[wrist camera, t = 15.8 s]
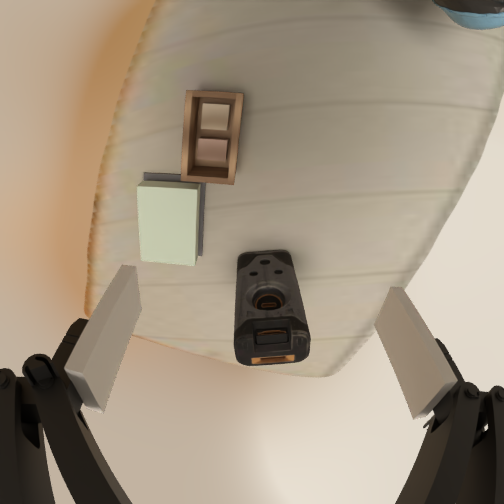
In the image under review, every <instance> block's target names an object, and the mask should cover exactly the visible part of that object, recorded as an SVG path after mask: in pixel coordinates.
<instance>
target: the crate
mask: <svg viewBox="0 0 504 504" xmlns="http://www.w3.org/2000/svg"><path fill="white" fill-rule="evenodd" d="M243 98H244V94H243V93H231V92H216V91H191V90H186V100H185V112H184V126H183V142H182V161H181V181H189V182H204V183H217V184H229V185H234V180H235V173H236V164H237V154H238V144H239V135H240V125H241V116H242V107H243Z"/></svg>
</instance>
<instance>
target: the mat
mask: <svg viewBox="0 0 504 504" xmlns="http://www.w3.org/2000/svg"><path fill="white" fill-rule="evenodd" d="M144 181H164V182H182V183H197V184H201V185H200V205H199V231H198V256H202V247H203V221H204V200H205V183H204V182H189V181H181V174H164V173H144Z"/></svg>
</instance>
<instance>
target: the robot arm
mask: <svg viewBox="0 0 504 504" xmlns="http://www.w3.org/2000/svg"><path fill="white" fill-rule="evenodd" d="M432 1H433V2H434V3H435V4H436V5H437V6H438V7H439V8H441V9H442V10H443V11H444V12H445V13H446V14H447V15H448V16H449V17H450V18H451V19H452V20H453V21H454V22H455V23H457V24H458V25H460V26H462V27H465V28H469V29H475V30H484V29H493V28H498V27H501V26H504V0H432ZM141 310H142V307H141V300H140V293H139V286H138V278H137V269H136V266H128V265H122V266H121V267H120V269H119V271H118V272H117V274H116V275H115V277H114V279H113V280H112V282H111V283H110V285H109V287H108V288H107V290H106V292H105V293H104V295H103V297H102V298H101V300H100V302H99V304H98V305H97V307H96V309H95V311H94V312H93V314H92V316H91V318H90V319H89V320H87V319H82V318H79V319H78V320H77V321H76V322H74V323H73V324H72V325H71V326H70V328H69V329H68V331H67V333H66V336H64V338H63V340H62V342H61V344H60V345H59V347H58V349H57V351H56V353H55V355H54V356H53V358H52V360H51V359H50V357H48V356H47V355H45V354H34V355H32V356H30V357H29V358H28V359H27V360H26V361H25V362H24V365H23V367H22V373H23V374H24V376H25V377H16V376H15V374H14V373H13V371H12V370H10V369H6V368H3V369H0V504H55V500H54V496H53V492H52V487H51V482H50V477H49V471H48V465H47V459H46V451H45V444H44V434H43V428H44V431H45V434H46V437H47V440H48V443H49V445H50V448H51V450H52V453H53V456H54V458H55V460H56V463H57V465H58V468H59V470H60V472H61V475H62V477H63V478H64V481H65V483H66V485H67V487H68V489H69V491H70V493H71V495H72V497H73V499H74V501H75V503H76V504H132V502H131V501H130V500H129V498H128V497H127V495H126V493H125V492H124V490H123V489H122V487H121V486H120V484H119V483H118V481H117V479H116V478H115V476H114V474H113V472H112V471H111V469H110V467H109V466H108V464H107V462H106V460H105V458H104V457H103V455H102V453H101V452H100V449H99V447H98V445H97V443H96V441H95V439H94V437H93V435H92V433H91V431H90V429H89V427H88V425H87V423H86V420H85V418H84V416H83V414H82V412H81V410H80V408H81V405H82V403H84V404H85V406H86V408H87V409H89V410H93V411H96V412H100V413H104V411H105V408H106V405H107V401H108V398H109V395H110V392H111V389H112V386H113V384H114V381H115V378H116V375H117V372H118V370H119V367H120V364H121V361H122V359H123V356H124V353H125V350H126V348H127V345H128V343H129V340H130V338H131V335H132V333H133V330H134V327H135V325H136V322H137V320H138V318H139V315H140V313H141ZM374 326H375V328H376V330H377V332H378V334H379V337H380V339H381V341H382V344H383V346H384V348H385V350H386V353H387V355H388V357H389V360H390V362H391V364H392V367H393V369H394V371H395V374H396V376H397V379H398V381H399V384H400V386H401V389H402V391H403V394H404V396H405V399H406V401H407V404H408V407H409V409H410V412H411V415H412V417H413V419H418V418H422V417H426V416H427V415H428V414H429V413H430V412H431V411H432V410H433V411H434V414H435V415H434V416H433V417H432V418H431V419H430V420H429V421H428V422H427V423H426V424H425V425H424V426H423V428H425V427H426V426H427V425H428V424H429V427H428V429H427V432H426V435H425V438H424V441H423V443H422V446H421V449H420V451H419V454H418V456H417V459H416V461H415V463H414V466H413V468H412V470H411V472H410V475H409V477H408V479H407V481H406V483H405V485H404V487H403V489H402V491H401V493H400V495H399V497H398V499H397V501H396V503H395V504H504V388H503V387H501V386H494V387H493V388H492V389H491V390H490V391H489V392H482V391H479V389H478V388H477V386H476V385H474V384H473V383H470V382H465V381H464V379H463V377H462V375H461V373H460V372H459V370H458V368H457V366H456V364H455V363H454V361H452V357H451V356H450V355H449V352H448V350H447V349H446V347H445V345H444V344H443V343H442V342H441V341H440V340H439V339H437V338H436V339H434V337H433V335H432V334H431V332H430V330H429V329H428V327H427V325H426V324H425V322H424V320H423V319H422V317H421V316H420V314H419V313H418V311H417V309H416V308H415V306H414V305H413V303H412V302H411V300H410V299H409V297H408V296H407V294H406V292H405V291H404V289H403V288H402V287H390V290H389V292H388V295H387V297H386V299H385V302H384V304H383V306H382V308H381V311H380V313H379V315H378V317H377V320H376V322H375V324H374ZM487 424H488V429H487V430H486V431H485V429H484V427H485V426H486V425H487Z"/></svg>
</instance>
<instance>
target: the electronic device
mask: <svg viewBox="0 0 504 504" xmlns="http://www.w3.org/2000/svg"><path fill="white" fill-rule="evenodd" d="M310 341H311V338H310V333H309V329H308V324H307V320H306V316H305V310H304V306H303V302H302V298H301V294H300V289H299V285H298V281H297V278H296V274H295V270H294V266H293V262H292V258H291V255H290V254H289V253H288V252H287V251H266V252H252V253H244V254H242V255H240V256H239V258H238V262H237V282H236V299H235V325H234V349H235V355H236V359H237V361H238V362H239V363H241V364H243V365H246V366H258V365H273V364H285V363H295V362H300V361H302V360H304V359H305V358H307V357H308V355H309V352H310Z"/></svg>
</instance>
